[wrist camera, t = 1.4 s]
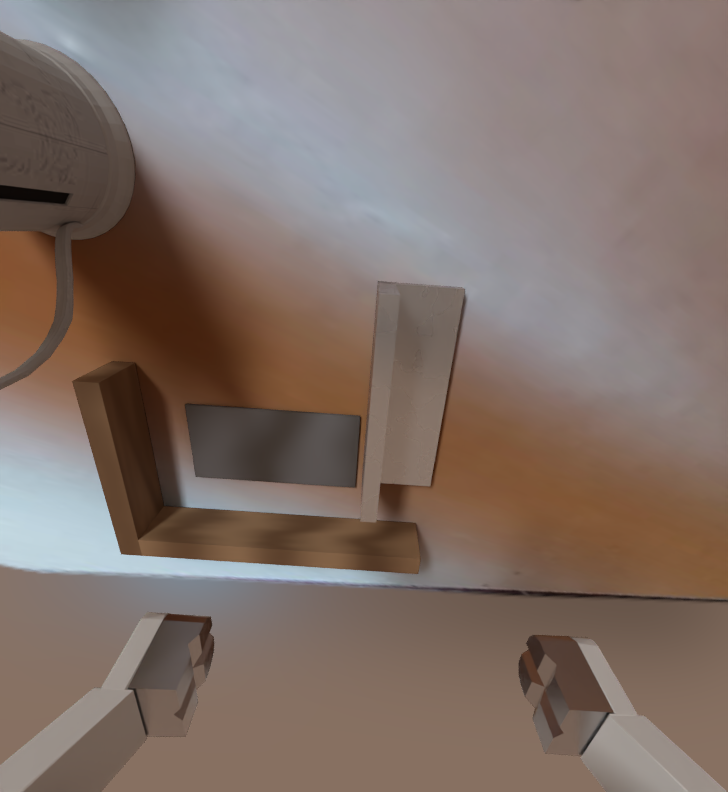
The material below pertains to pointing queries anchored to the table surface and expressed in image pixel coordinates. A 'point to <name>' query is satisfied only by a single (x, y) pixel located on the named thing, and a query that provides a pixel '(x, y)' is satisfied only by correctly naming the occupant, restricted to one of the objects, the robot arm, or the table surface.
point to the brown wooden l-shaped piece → (234, 459)
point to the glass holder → (58, 164)
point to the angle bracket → (407, 385)
